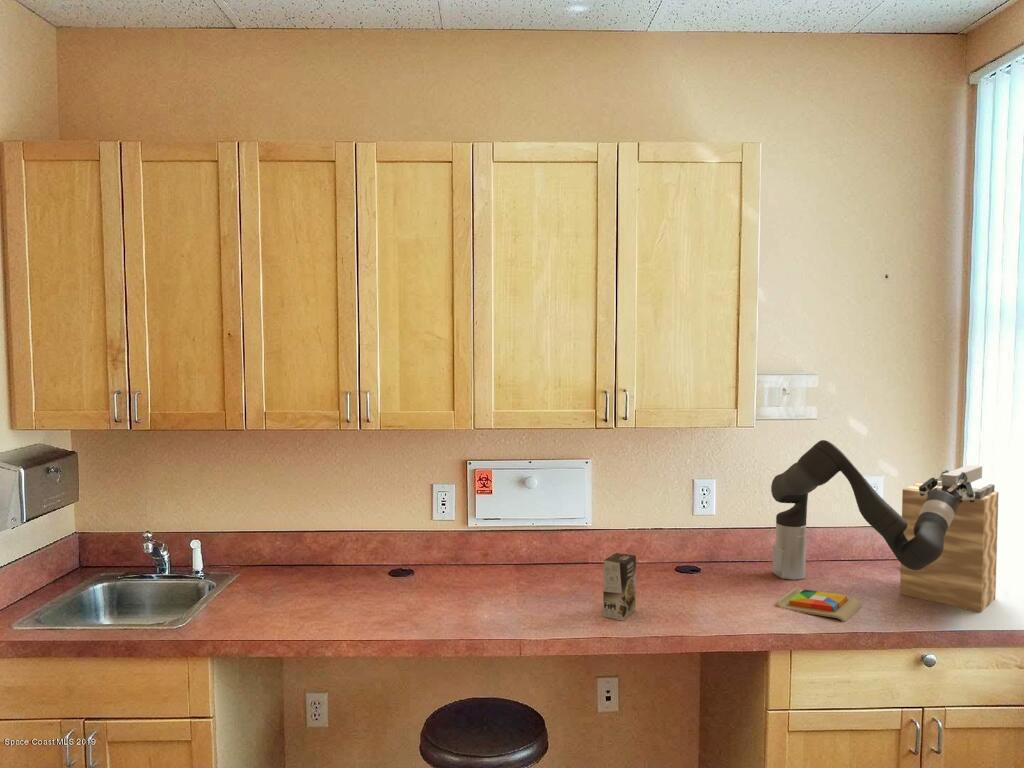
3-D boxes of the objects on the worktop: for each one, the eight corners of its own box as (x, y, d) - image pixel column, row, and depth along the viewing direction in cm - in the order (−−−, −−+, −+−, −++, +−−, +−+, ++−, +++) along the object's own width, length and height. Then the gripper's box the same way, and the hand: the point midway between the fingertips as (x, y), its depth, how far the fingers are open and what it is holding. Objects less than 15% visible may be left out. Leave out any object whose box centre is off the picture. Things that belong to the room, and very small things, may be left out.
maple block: (981, 612, 199) (984, 492, 198) (900, 593, 214) (902, 482, 213) (995, 598, 210) (998, 485, 209) (917, 581, 226) (920, 476, 224)
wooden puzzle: (796, 592, 217) (796, 581, 217) (863, 607, 205) (863, 595, 205) (775, 608, 204) (775, 596, 204) (844, 624, 192) (845, 612, 192)
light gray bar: (955, 488, 194) (956, 476, 194) (941, 486, 196) (941, 474, 196) (981, 477, 212) (982, 466, 212) (968, 476, 214) (968, 464, 214)
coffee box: (623, 621, 193) (624, 563, 192) (602, 616, 197) (602, 559, 196) (636, 611, 201) (636, 555, 200) (615, 606, 204) (615, 551, 204)
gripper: (966, 504, 183) (983, 465, 193) (907, 496, 193) (925, 460, 203) (970, 527, 186) (986, 487, 195) (911, 518, 196) (929, 481, 206)
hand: (955, 473), depth 199 cm, fingers closed on light gray bar, 3 cm apart
